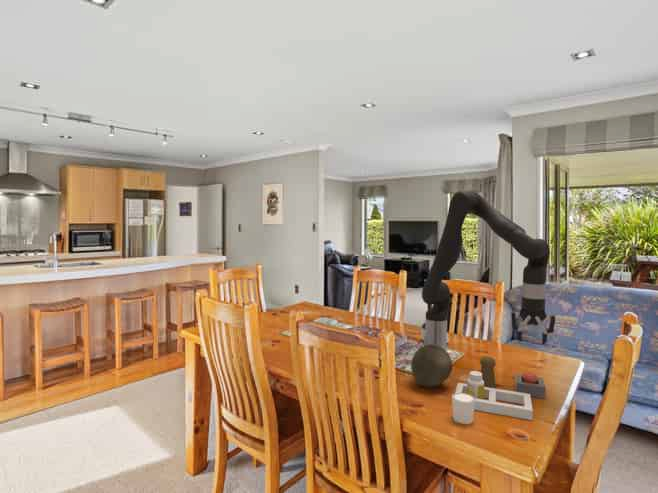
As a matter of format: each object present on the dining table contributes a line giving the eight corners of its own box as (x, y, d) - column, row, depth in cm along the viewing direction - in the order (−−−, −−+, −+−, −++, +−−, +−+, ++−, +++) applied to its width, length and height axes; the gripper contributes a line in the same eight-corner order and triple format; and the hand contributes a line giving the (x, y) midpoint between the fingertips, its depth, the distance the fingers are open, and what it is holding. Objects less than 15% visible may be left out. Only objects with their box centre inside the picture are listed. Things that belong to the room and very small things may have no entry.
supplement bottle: (483, 399, 136) (484, 371, 135) (484, 406, 130) (485, 377, 130) (466, 397, 137) (467, 369, 137) (466, 403, 132) (467, 375, 132)
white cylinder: (447, 414, 125) (448, 392, 125) (468, 413, 126) (469, 391, 125) (456, 425, 118) (457, 403, 118) (478, 424, 119) (479, 402, 119)
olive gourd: (497, 391, 142) (498, 361, 141) (479, 389, 143) (480, 359, 142) (494, 384, 148) (495, 355, 147) (477, 382, 149) (477, 354, 148)
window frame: (453, 406, 131) (454, 397, 130) (457, 390, 142) (457, 382, 142) (532, 420, 122) (532, 410, 121) (529, 402, 133) (530, 394, 133)
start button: (523, 384, 140) (523, 376, 140) (522, 379, 144) (522, 371, 144) (537, 386, 139) (537, 378, 138) (536, 381, 143) (536, 373, 142)
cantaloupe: (421, 395, 138) (421, 353, 137) (405, 379, 152) (406, 341, 151) (458, 392, 141) (459, 350, 140) (439, 376, 155) (440, 338, 154)
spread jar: (418, 340, 199) (419, 318, 198) (435, 337, 204) (436, 315, 204) (435, 347, 189) (436, 323, 188) (453, 344, 194) (453, 320, 193)
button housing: (515, 394, 139) (516, 383, 139) (515, 384, 148) (515, 373, 147) (545, 398, 136) (545, 387, 136) (542, 388, 144) (543, 377, 144)
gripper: (511, 296, 139) (509, 343, 140) (558, 299, 133) (556, 348, 134) (510, 292, 145) (509, 337, 147) (555, 295, 140) (553, 341, 141)
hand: (531, 342), depth 140 cm, fingers open, 6 cm apart
